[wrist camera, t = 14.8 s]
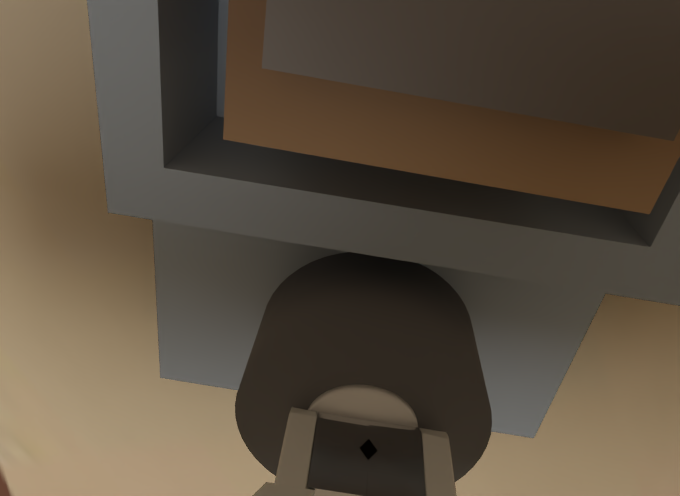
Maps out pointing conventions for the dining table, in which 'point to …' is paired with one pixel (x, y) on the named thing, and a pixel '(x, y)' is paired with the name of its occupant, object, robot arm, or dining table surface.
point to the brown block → (467, 90)
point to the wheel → (366, 356)
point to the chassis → (342, 221)
